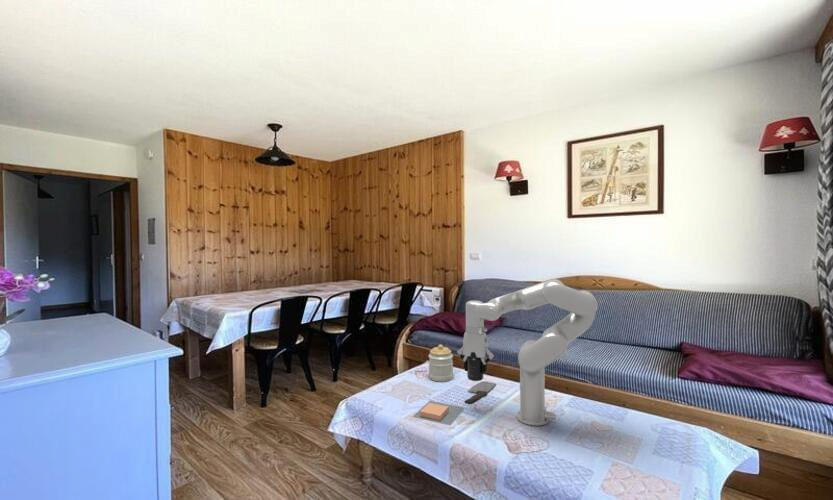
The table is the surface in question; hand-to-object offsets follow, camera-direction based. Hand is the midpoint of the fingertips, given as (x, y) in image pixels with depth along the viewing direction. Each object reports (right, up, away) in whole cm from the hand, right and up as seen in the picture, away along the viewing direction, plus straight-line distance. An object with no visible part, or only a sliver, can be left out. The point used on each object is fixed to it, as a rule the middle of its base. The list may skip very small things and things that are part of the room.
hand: (475, 371), depth 162 cm
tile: (-15, -16, +1) cm, 22 cm away
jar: (-12, -16, +40) cm, 44 cm away
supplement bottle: (0, -3, 0) cm, 3 cm away
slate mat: (-15, -17, -1) cm, 23 cm away
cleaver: (+4, -17, +19) cm, 26 cm away
